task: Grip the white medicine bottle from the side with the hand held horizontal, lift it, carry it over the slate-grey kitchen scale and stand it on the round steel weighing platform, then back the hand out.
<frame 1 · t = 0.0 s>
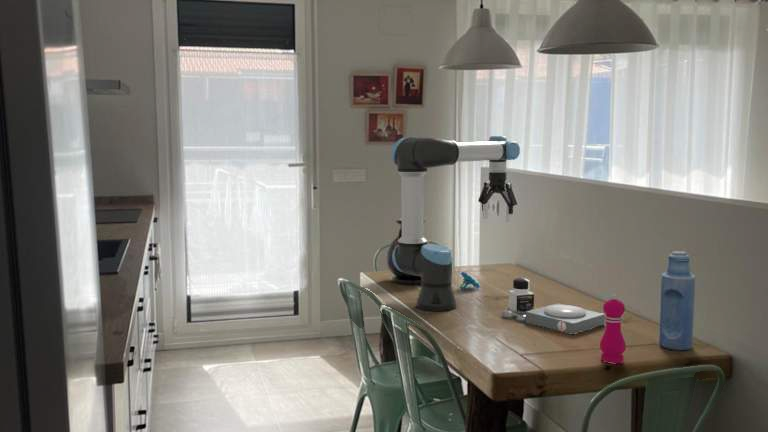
hand: (497, 220, 310), 28 cm above the table, tool pointing down, fingers open, 13 cm apart
gear: (469, 289, 302), on the table
amphora vase: (410, 282, 317), on the table
scale: (564, 323, 247), on the table
bottle: (675, 347, 221), on the table
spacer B: (523, 320, 252), on the table
pepper mill: (612, 361, 208), on the table
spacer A: (509, 317, 257), on the table
medicine bottle: (521, 310, 266), on the table
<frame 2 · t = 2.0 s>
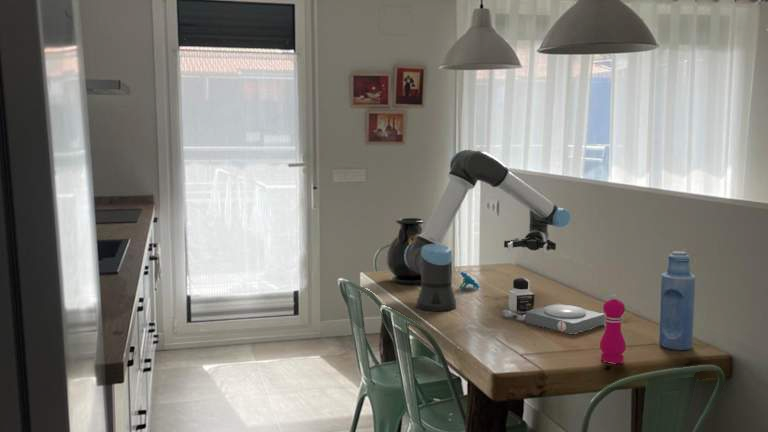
hand: (526, 248, 272), 22 cm above the table, tool horizontal, fingers open, 13 cm apart
nothing on the table moved.
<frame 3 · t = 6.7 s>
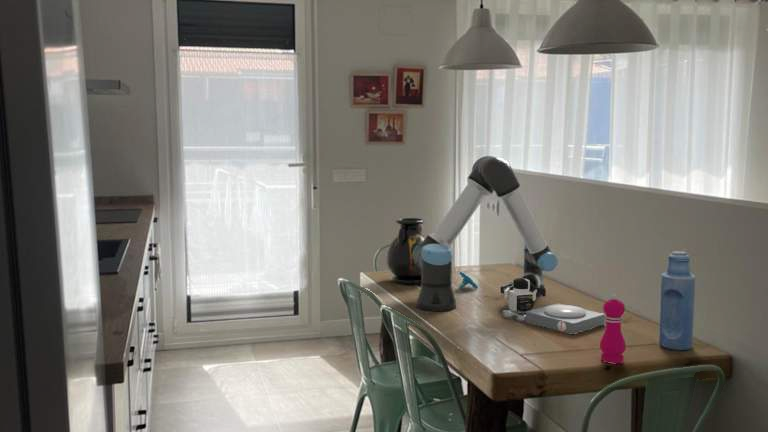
hand: (519, 295, 261), 7 cm above the table, tool horizontal, fingers closed on medicine bottle, 10 cm apart
medicine bottle: (521, 310, 266), on the table, touching gripper
everything else where it was.
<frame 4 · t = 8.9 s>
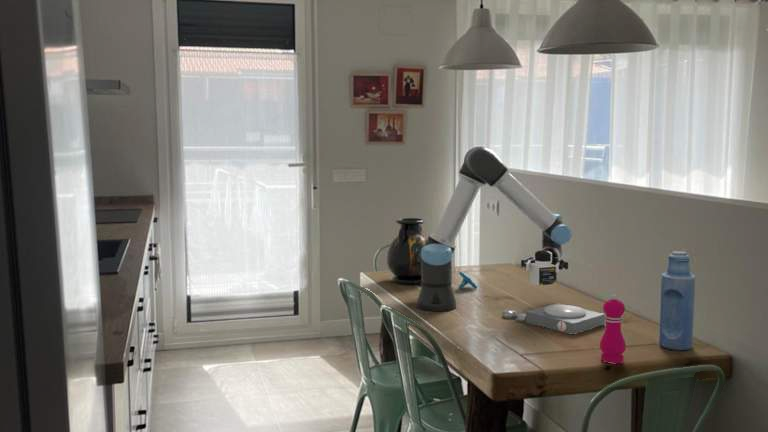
hand: (541, 268, 252), 18 cm above the table, tool horizontal, fingers closed on medicine bottle, 10 cm apart
medicine bottle: (542, 284, 257), point 11 cm above the table, touching gripper
everything else where it was.
when the fingers open (13 cm above the table, at t = 11.1 s): medicine bottle drops 1 cm, resting on scale.
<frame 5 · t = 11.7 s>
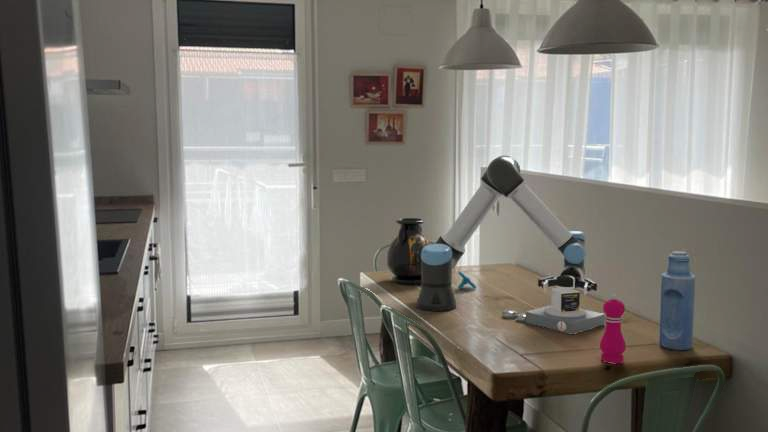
hand: (564, 289, 242), 13 cm above the table, tool horizontal, fingers open, 13 cm apart
medicine bottle: (565, 310, 246), point 5 cm above the table, touching scale
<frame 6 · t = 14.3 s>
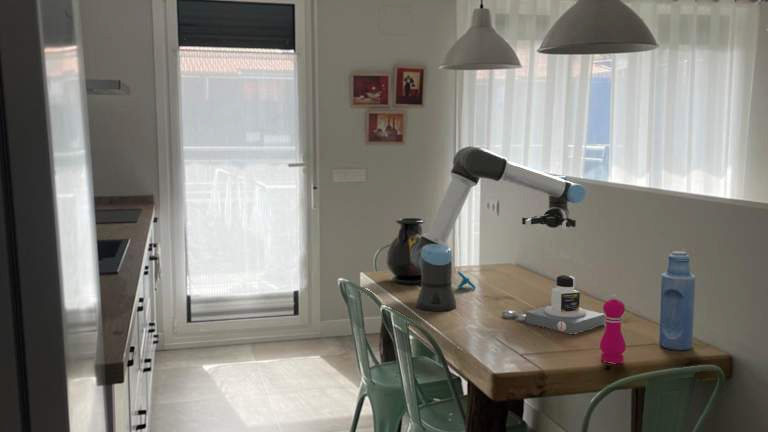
hand: (544, 225, 264), 32 cm above the table, tool horizontal, fingers open, 13 cm apart
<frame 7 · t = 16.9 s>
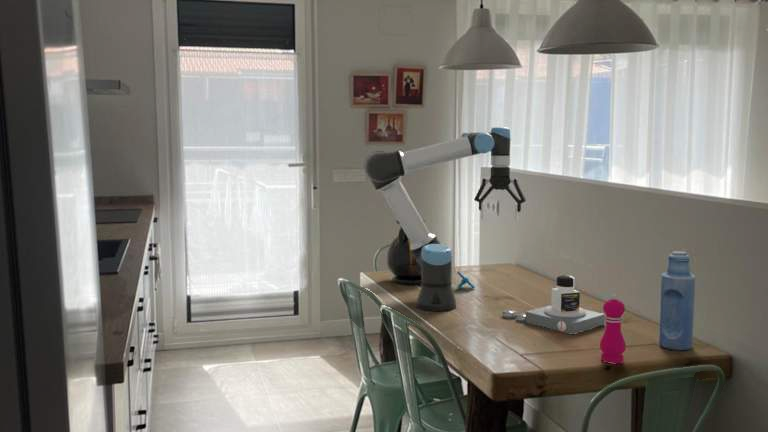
hand: (499, 219, 283), 32 cm above the table, tool pointing down, fingers open, 13 cm apart
at the end: medicine bottle inside the target area on the scale (0.1 cm from its centre), point 4.8 cm above the scale's base; medicine bottle tilted 0°; the gripper is holding nothing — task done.
